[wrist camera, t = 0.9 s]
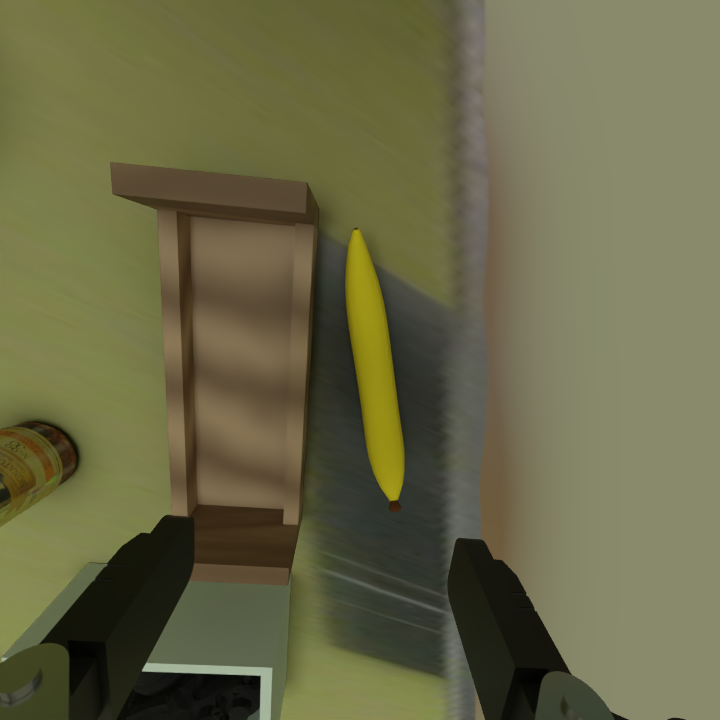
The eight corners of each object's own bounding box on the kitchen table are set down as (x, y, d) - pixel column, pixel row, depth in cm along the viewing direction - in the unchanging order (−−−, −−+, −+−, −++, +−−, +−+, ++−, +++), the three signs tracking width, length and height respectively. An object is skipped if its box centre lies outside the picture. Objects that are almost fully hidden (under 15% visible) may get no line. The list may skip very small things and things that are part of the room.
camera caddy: (88, 562, 31) (1, 657, 23) (291, 573, 32) (272, 667, 24) (101, 673, 34) (29, 789, 27) (285, 680, 35) (267, 794, 28)
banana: (374, 234, 25) (382, 220, 19) (403, 462, 30) (417, 510, 24) (335, 239, 25) (330, 227, 19) (370, 466, 30) (375, 516, 24)
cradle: (178, 194, 24) (110, 162, 17) (319, 208, 25) (307, 182, 18) (189, 510, 30) (142, 578, 23) (301, 517, 31) (287, 585, 24)
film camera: (246, 554, 32) (206, 660, 23) (291, 628, 34) (270, 750, 25) (105, 609, 33) (15, 729, 24) (157, 677, 35) (93, 810, 26)
